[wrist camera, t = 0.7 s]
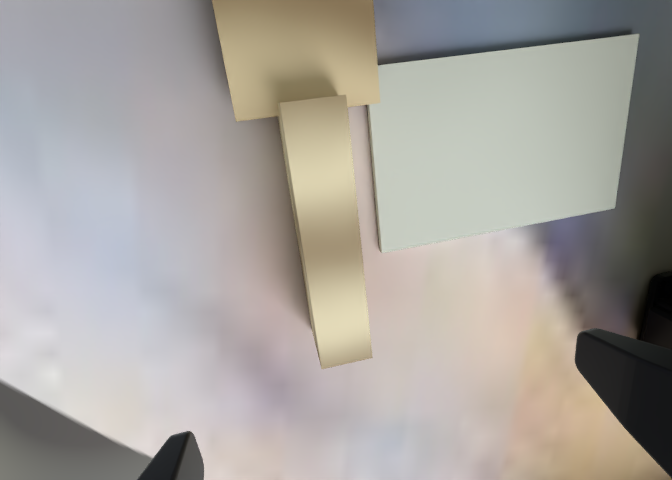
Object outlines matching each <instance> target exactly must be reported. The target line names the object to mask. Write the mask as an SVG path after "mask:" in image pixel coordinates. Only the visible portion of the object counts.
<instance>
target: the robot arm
mask: <svg viewBox="0 0 672 480" xmlns="http://www.w3.org/2000/svg"><path fill="white" fill-rule="evenodd" d="M575 364H576V366H577V368H578V370H579V372H580V373H581V374H582V375H583V377H584V378H585V379H586V380H587V382H588V383H589V384H590V385H591V387H592V388H593V389H594V390H595V392H596V393H597V394H598V396H599V397H600V398H601V399H602V401H603V402H604V403H605V404H606V406H607V407H608V408H609V409H610V411H611V412H612V413H613V414H614V416H615V417H616V418H617V419H618V421H619V422H620V423H621V424H622V425H623V427H624V428H625V429H626V430H627V431H628V432H629V433H630V434H631V435H632V437H633V438H634V439H635V440H636V441H637V442H638V443H639V444H640V445H641V446H642V447H643V448H644V449H645V450H646V451H647V453H648V454H649V455H650V456H651V457H652V458H653V459H654V460H655V461H656V462H657V463H658V464H659V465H660V466H661V467H662V468H663V470H664V471H665V472H666V473H667V474H668V475H669V476H670V477H671V478H672V272H668V273H663V274H659V275H656V276H655V277H654V278H653V279H652V281H651V284H650V290H649V295H648V300H647V306H646V311H645V316H644V322H643V327H642V332H641V337H640V340H636V339H633V338H629V337H626V336H622V335H619V334H615V333H612V332H608V331H605V330H602V329H597V328H594V329H590V330H586V331H582V332H580V333H579V334H578V336H577V343H576V352H575ZM137 480H204V465H203V459H202V456H201V453H200V450H199V448H198V445H197V442H196V439H195V436H194V434H193V433H192V432H190V431H187V432H183V433H179V434H175V435H172V436H171V437H169V438H168V440H167V441H166V442H165V444H164V445H163V446H162V447H161V449H160V450H159V451H158V453H157V454H156V455H155V457H154V458H153V459H152V460H151V462H150V463H149V464H148V466H147V467H146V468H145V470H144V471H143V472H142V474H141V475H140V476H139V477H138V479H137Z"/></svg>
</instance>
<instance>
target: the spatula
mask: <svg viewBox="0 0 672 480" xmlns="http://www.w3.org/2000/svg"><path fill="white" fill-rule="evenodd" d="M212 3H213V8H214V13H215V18H216V24H217V29H218V34H219V39H220V44H221V49H222V54H223V59H224V64H225V69H226V74H227V79H228V84H229V89H230V94H231V99H232V104H233V109H234V114H235V119H236V122H237V121H245V120H253V119H260V118H268V117H276V116H278V122H279V129H280V135H281V141H282V147H283V153H284V159H285V166H286V172H287V178H288V184H289V190H290V197H291V203H292V209H293V215H294V221H295V227H296V234H297V240H298V246H299V252H300V258H301V265H302V271H303V277H304V283H305V289H306V295H307V302H308V308H309V314H310V320H311V326H312V332H313V336H314V340H315V344H316V348H317V352H318V356H319V360H320V364H321V368H322V369H325V368H330V367H334V366H338V365H343V364H347V363H352V362H356V361H361V360H365V359H369V358H372V349H371V339H370V329H369V319H368V308H367V298H366V288H365V278H364V268H363V258H362V248H361V238H360V228H359V218H358V208H357V198H356V188H355V178H354V168H353V158H352V148H351V138H350V128H349V118H348V108H347V107H353V106H361V105H369V104H376V103H380V91H379V77H378V63H377V49H376V35H375V20H374V6H373V0H212Z"/></svg>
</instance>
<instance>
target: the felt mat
mask: <svg viewBox="0 0 672 480" xmlns="http://www.w3.org/2000/svg"><path fill="white" fill-rule="evenodd" d="M638 40H639V34H633V35H625V36H616V37H608V38H600V39H592V40H583V41H575V42H567V43H559V44H550V45H542V46H534V47H526V48H517V49H509V50H501V51H493V52H484V53H476V54H468V55H460V56H451V57H443V58H435V59H427V60H418V61H410V62H402V63H394V64H385V65H378V77H379V91H380V103H376V104H369V105H367V112H368V123H369V134H370V146H371V157H372V169H373V180H374V191H375V203H376V214H377V226H378V237H379V248H380V252H381V253H386V252H391V251H396V250H402V249H407V248H412V247H417V246H422V245H428V244H433V243H438V242H443V241H448V240H453V239H459V238H464V237H469V236H474V235H479V234H485V233H490V232H495V231H500V230H505V229H510V228H516V227H521V226H526V225H531V224H536V223H542V222H547V221H552V220H557V219H562V218H567V217H573V216H578V215H583V214H588V213H593V212H599V211H604V210H609V209H614V208H615V203H616V196H617V189H618V182H619V175H620V168H621V161H622V154H623V146H624V139H625V132H626V125H627V118H628V111H629V104H630V97H631V89H632V82H633V75H634V68H635V61H636V54H637V47H638Z"/></svg>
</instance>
